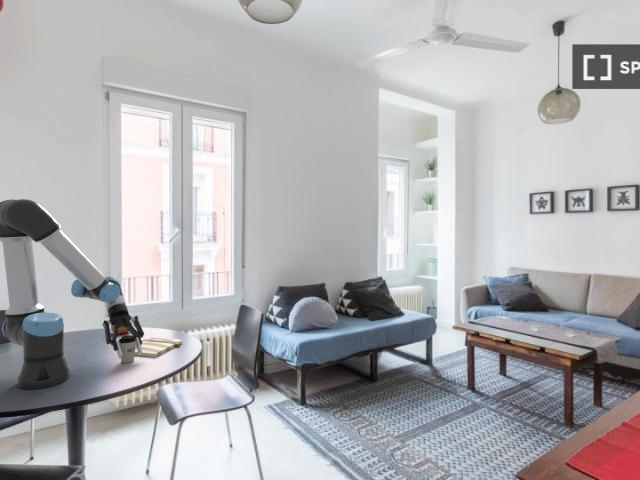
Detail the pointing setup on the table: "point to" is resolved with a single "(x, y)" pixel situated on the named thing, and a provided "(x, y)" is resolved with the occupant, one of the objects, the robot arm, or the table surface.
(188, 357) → the table surface
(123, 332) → the apple
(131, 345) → the coffee cup
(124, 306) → the robot arm
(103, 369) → the table surface
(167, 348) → the subfloor panel
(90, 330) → the table surface
